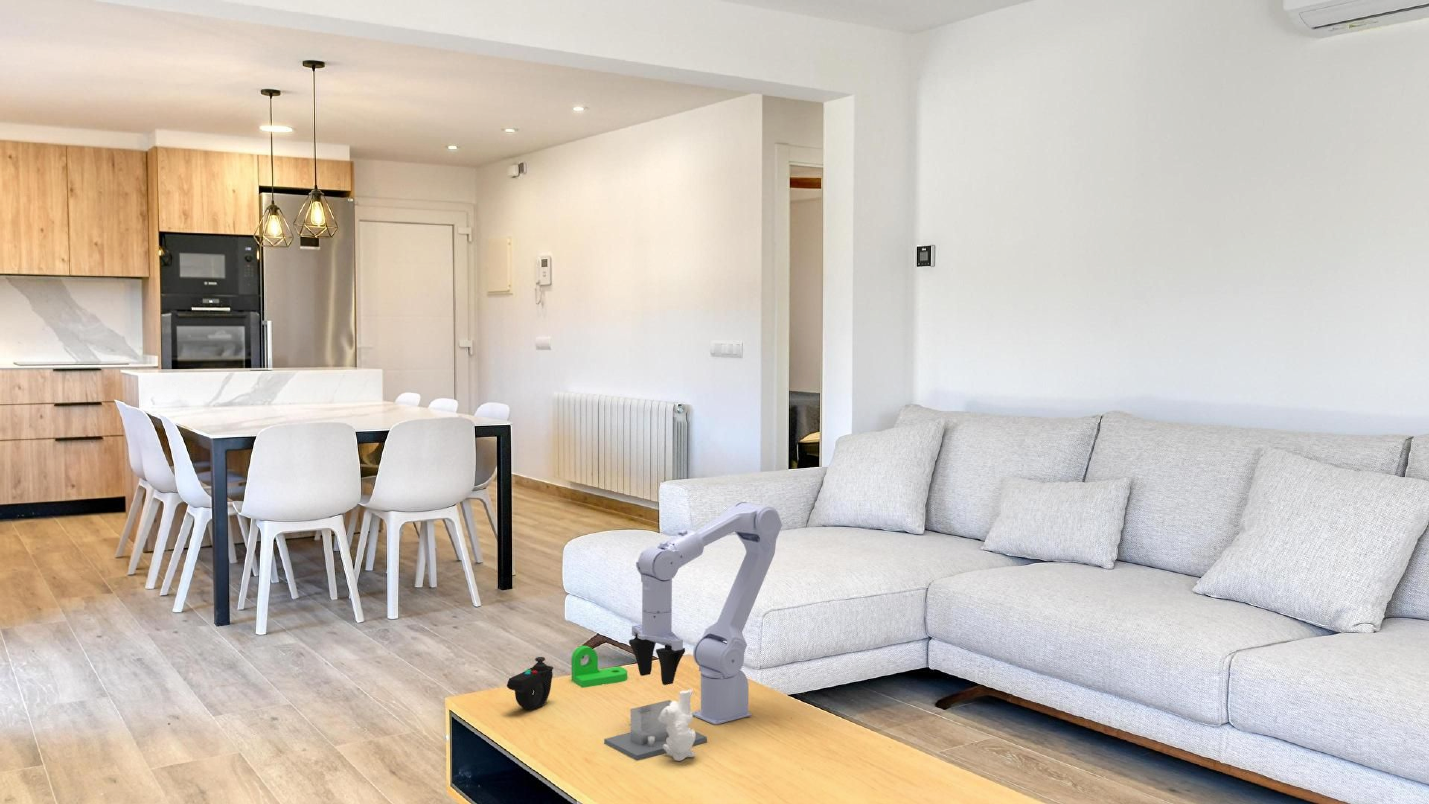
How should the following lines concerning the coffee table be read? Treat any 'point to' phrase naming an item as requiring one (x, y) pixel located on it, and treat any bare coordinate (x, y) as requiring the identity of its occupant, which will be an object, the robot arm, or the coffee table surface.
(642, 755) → the pin tray
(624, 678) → the mechanical part
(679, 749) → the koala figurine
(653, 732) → the block
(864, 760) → the coffee table surface
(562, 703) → the coffee table surface
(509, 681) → the controller
